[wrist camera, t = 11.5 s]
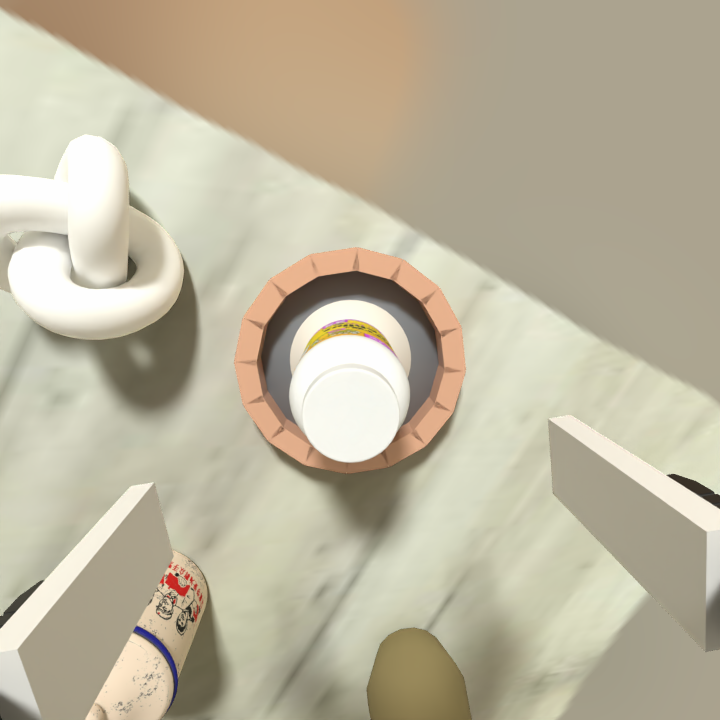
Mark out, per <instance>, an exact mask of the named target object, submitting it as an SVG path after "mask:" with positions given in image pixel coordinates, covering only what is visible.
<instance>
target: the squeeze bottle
mask: <svg viewBox="0 0 720 720" xmlns="http://www.w3.org/2000/svg"><path fill="white" fill-rule="evenodd" d="M367 698H368V706H369V712H370V718H371V720H472V718H471V713H470V708H469V703H468V697H467V692H466V687H465V681H464V677H463V675H462V674H461V672H460V670H459V669H458V667H457V665H456V664H455V662H454V661H453V660H452V658H451V657H450V656H449V654H448V653H447V651H446V650H445V649H444V647H443V646H442V645H441V643H440V642H439V641H438V639H437V638H436V637H435V636H433V635H432V634H430V633H429V632H428V631H426V630H422V629H417V628H407V629H400V630H398V631H396V632H394V633H392V634H390V635H388V637H387V638H386V639H385V640H384V641H383V642H382V643H381V644H380V647H379V649H378V652H377V655H376V658H375V662H374V665H373V669H372V672H371V676H370V679H369V683H368V686H367Z"/></svg>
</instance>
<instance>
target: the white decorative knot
mask: <svg viewBox="0 0 720 720" xmlns="http://www.w3.org/2000/svg"><path fill="white" fill-rule="evenodd" d="M14 232H24V233H23V235H22V236H21V238H20V239H19V241H18V243H17V242H16V241H15V240H13V239H12V237H11V236H10V235H9V234H10V233H14ZM128 256H129V257H130V258H131V259H132V260H133V261H134V262H135V264H136V266H137V271H136V273H135V274H134V276H133V277H132V278H131V279H130V280H129V281H128V282H127V283H126V281H127V270H128ZM183 276H184V267H183V260H182V257H181V254H180V251H179V249H178V247H177V245H176V243H175V242H174V240H173V239H172V237H171V236H170V235H169V234H168V232H167V231H166V230H165V229H164V228H163V227H162V226H161V225H160V224H158V223H157V222H156V221H155V220H153V219H152V218H150V217H149V216H147V215H146V214H144V213H142V212H140V211H138V210H137V209H135V208H133V207H132V206H130V205H129V179H128V170H127V166H126V163H125V161H124V159H123V157H122V156H121V154H120V152H119V151H118V149H117V147H116V146H114V145H113V144H111V143H110V142H108V141H107V140H105V139H104V138H102V137H98V136H91V135H83V136H81V137H78V138H76V139H74V140H72V141H71V142H70V144H69V146H68V147H67V149H66V151H65V153H64V155H63V157H62V159H61V161H60V164H59V166H58V169H57V172H56V174H55V177H54V180H51V179H45V178H38V177H27V176H20V175H5V174H4V175H0V289H2V290H4V291H6V292H9V293H11V294H12V297H13V298H14V300H15V302H16V304H17V305H18V306H19V307H20V308H21V309H22V310H23V311H24V312H25V313H26V314H27V315H28V316H29V317H30V318H31V319H32V320H34V321H35V322H36V323H37V324H38V325H40V326H42V327H44V328H46V329H48V330H49V331H51V332H54V333H57V334H60V335H63V336H66V337H72V338H78V339H84V340H104V339H110V338H117V337H122V336H125V335H128V334H131V333H134V332H137V331H139V330H141V329H143V328H145V327H146V326H148V325H150V324H152V323H154V322H156V321H157V320H159V319H160V318H161V317H162V316H163V315H165V314H166V313H167V312H168V311H169V310H170V308H171V307H172V306H173V304H174V303H175V302H176V300H177V298H178V296H179V293H180V291H181V288H182V283H183Z"/></svg>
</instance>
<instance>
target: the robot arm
mask: <svg viewBox="0 0 720 720" xmlns="http://www.w3.org/2000/svg"><path fill="white" fill-rule="evenodd" d="M548 426H549V441H550V457H551V472H552V488H553V494H554V495H555V496H556V497H557V498H558V499H559V500H560V502H561V503H562V504H563V505H564V506H565V507H566V508H567V509H568V510H569V511H570V512H571V513H572V514H573V515H574V516H575V517H576V518H577V519H578V520H579V521H580V522H581V523H582V524H583V525H584V526H585V527H586V529H587V530H588V531H589V532H590V533H591V534H592V535H593V536H594V537H595V538H596V539H597V540H598V541H599V542H600V543H601V544H602V545H603V546H604V547H605V548H606V549H607V550H608V551H609V552H610V553H611V554H612V556H613V557H614V558H615V559H616V560H617V561H618V562H619V563H620V564H621V565H622V566H623V567H624V568H625V569H626V570H627V571H628V572H629V573H630V574H631V575H632V576H633V577H634V578H635V579H636V580H637V582H638V583H639V584H640V585H641V586H642V587H643V588H644V589H645V590H646V591H647V592H648V593H649V594H650V595H651V596H652V597H653V598H654V599H655V600H656V601H657V602H658V603H659V604H660V605H661V606H662V607H663V608H664V609H665V611H666V612H667V613H668V614H669V615H670V616H671V617H672V618H673V619H674V620H675V621H676V622H677V623H678V624H679V625H680V626H681V627H682V628H683V629H684V630H685V631H686V632H687V633H688V634H689V636H690V637H691V638H692V639H693V640H694V641H695V642H696V643H697V644H698V645H699V646H700V647H701V648H702V649H703V650H704V651H705V652H707V651H713V650H719V649H720V495H718V494H714V492H713V491H712V490H710V489H708V488H707V487H705V486H703V485H702V484H700V483H698V482H696V481H694V480H691V479H688V478H685V477H682V476H679V475H676V474H670V475H665V474H663V473H662V472H660V471H658V470H657V469H655V468H654V467H652V466H651V465H649V464H647V463H646V462H644V461H643V460H641V459H639V458H638V457H636V456H635V455H633V454H632V453H630V452H628V451H627V450H625V449H624V448H622V447H620V446H619V445H617V444H616V443H614V442H613V441H611V440H609V439H608V438H606V437H605V436H603V435H601V434H600V433H598V432H597V431H595V430H594V429H592V428H590V427H589V426H587V425H586V424H584V423H582V422H581V421H579V420H578V419H576V418H575V417H573V416H571V415H567V416H561V417H555V418H549V419H548ZM173 557H174V555H173V552H172V548H171V544H170V540H169V536H168V533H167V529H166V525H165V521H164V517H163V514H162V510H161V506H160V502H159V498H158V494H157V491H156V487H155V483H147V484H141V485H135V486H130V488H129V489H128V490H127V491H126V492H125V493H124V494H123V495H122V496H121V497H120V499H119V500H118V501H117V502H116V503H115V504H114V505H113V506H112V507H111V508H110V509H109V511H108V512H107V513H106V514H105V515H104V516H103V517H102V518H101V519H100V520H99V521H98V523H97V524H96V525H95V526H94V527H93V528H92V529H91V530H90V531H89V532H88V534H87V535H86V536H85V537H84V538H83V539H82V540H81V541H80V542H79V543H78V544H77V546H76V547H75V548H74V549H73V550H72V551H71V552H70V553H69V554H68V555H67V557H66V558H65V559H64V560H63V561H62V562H61V563H60V564H59V565H58V566H57V567H56V569H55V570H54V571H53V572H52V573H51V574H50V575H49V576H48V577H47V578H46V579H45V580H42V581H40V582H38V583H37V584H35V585H34V586H33V587H31V588H30V589H29V590H27V591H26V592H24V593H23V594H22V595H20V596H19V597H18V598H17V599H16V600H15V601H14V602H13V603H12V604H11V605H10V606H9V608H8V609H7V610H6V611H5V612H4V615H3V616H0V720H85V719H86V717H87V715H88V713H89V711H90V710H91V708H92V706H93V704H94V702H95V700H96V699H97V697H98V695H99V693H100V691H101V689H102V688H103V686H104V684H105V682H106V680H107V678H108V677H109V675H110V673H111V671H112V669H113V667H114V666H115V664H116V662H117V660H118V658H119V656H120V655H121V653H122V651H123V649H124V647H125V645H126V644H127V642H128V640H129V638H130V636H131V634H132V633H133V631H134V629H135V627H136V625H137V623H138V621H139V620H140V618H141V616H142V614H143V612H144V610H145V609H146V607H147V605H148V603H149V601H150V599H151V598H152V596H153V594H154V592H155V590H156V588H157V587H158V585H159V583H160V581H161V579H162V577H163V576H164V574H165V572H166V570H167V568H168V566H169V565H170V563H171V561H172V559H173Z"/></svg>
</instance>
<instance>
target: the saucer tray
mask: <svg viewBox="0 0 720 720" xmlns="http://www.w3.org/2000/svg"><path fill="white" fill-rule="evenodd" d="M341 319H356V320H361V321H364V322H367V323H369V324H371V325H373V326H374V327H376V328H377V329H378V330H379V331H380V332H381V333H382V334H383V335H384V336H385V337H386V339H387V340H388V342H389V344H390V345H391V347H392V349H393V351H394V352H395V354H396V356H397V358H398V359H399V361H400V363H401V364H402V366H403V368H404V370H405V372H406V375H407V378H408V381H409V387H410V402H409V408H408V411H407V415H406V418H405V420H404V422H403V424H402V425H401V427H400V429H399V430H398V431H397V433H396V435H395V437H394V439H393V440H392V442H391V443H390V444H389V446H388V447H387V448H386V449H385V450H383V451H382V452H381V453H380V454H378V455H377V456H375V457H373V458H371V459H368V460H365V461H362V462H355V463H346V462H340V461H335V460H333V459H331V458H328V457H326V456H324V455H323V454H321V453H320V452H319V451H318V450H316V449H315V448H314V447H313V445H312V444H311V443H310V441H309V440H308V438H307V437H306V435H305V434H304V433H303V432H302V431H301V429H300V428H299V427H298V425H297V423H296V421H295V419H294V417H293V415H292V411H291V407H290V401H289V390H290V384H291V380H292V376H293V373H294V370H295V368H296V366H297V364H298V362H299V360H300V358H301V356H302V354H303V352H304V350H305V348H306V346H307V344H308V342H309V340H310V339H311V338H312V336H313V335H314V334H315V333H316V332H317V331H318V330H319V329H320V328H322V327H323V326H325V325H327V324H329V323H331V322H333V321H337V320H341ZM234 364H235V369H236V374H237V379H238V383H239V388H240V393H241V398H242V402H243V405H244V407H245V409H246V410H247V412H248V413H249V415H250V416H251V417H252V419H253V420H254V422H255V423H256V425H257V426H258V428H259V429H260V430H261V432H262V433H263V435H264V436H265V438H266V439H267V441H268V440H269V442H270V443H271V444H273V445H274V446H276V447H277V448H279V449H280V450H282V451H283V452H285V453H287V454H288V455H290V456H291V457H293V458H294V459H296V460H297V461H299V462H300V463H302V464H303V465H304V464H305V465H306V466H311V467H315V468H320V469H325V470H330V471H334V472H339V473H344V474H346V472H347V474H350V473H357V472H363V471H369V470H376V469H382V468H388V466H389V467H391V466H392V465H394V464H396V463H398V462H399V461H401V460H403V459H404V458H406V457H408V456H410V455H411V454H413V453H415V452H417V451H418V450H420V449H422V448H424V447H425V445H427V444H428V443H429V442H430V441H431V440H432V438H433V437H434V436H435V435H436V433H437V432H438V431H439V430H440V428H441V427H442V426H443V425H444V423H445V422H446V421H447V420H448V418H449V417H450V416H451V415H452V413H453V412H454V409H455V405H456V402H457V399H458V395H459V392H460V389H461V385H462V382H463V379H464V376H465V372H466V371H465V370H466V367H465V357H464V347H463V337H462V328H461V325H460V323H459V322H458V320H457V318H456V316H455V314H454V313H453V311H452V309H451V307H450V305H449V304H448V302H447V300H446V298H445V296H444V294H443V293H442V291H441V289H440V288H439V287H438V286H437V285H436V284H434V283H433V282H432V281H431V280H429V279H428V278H427V277H425V276H424V275H423V274H422V273H420V272H419V271H418V270H416V269H415V268H414V267H413V266H411V265H410V264H409V263H407V262H406V261H405V260H402V259H401V258H397V257H393V256H389V255H385V254H381V253H378V252H374V251H370V250H366V249H362V248H357V247H355V248H349V249H342V250H335V251H329V252H322V253H315V254H311V255H308V256H306V257H305V258H303V259H302V260H300V261H298V262H297V263H295V264H293V265H292V266H290V267H289V268H287V269H285V270H284V271H282V272H281V273H279V274H277V275H276V276H274V277H272V278H271V279H270V280H269V281H268V282H267V284H266V285H265V287H264V288H263V289H262V291H261V292H260V294H259V295H258V297H257V298H256V299H255V301H254V302H253V304H252V305H251V307H250V308H249V310H248V311H247V312H246V314H245V315H244V318H243V320H242V325H241V330H240V335H239V340H238V345H237V350H236V355H235V359H234Z"/></svg>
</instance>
